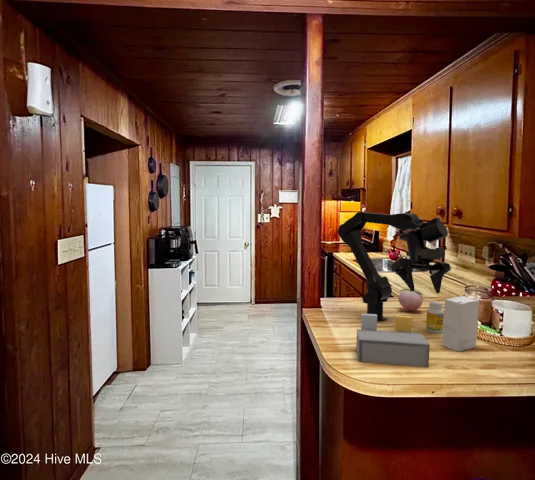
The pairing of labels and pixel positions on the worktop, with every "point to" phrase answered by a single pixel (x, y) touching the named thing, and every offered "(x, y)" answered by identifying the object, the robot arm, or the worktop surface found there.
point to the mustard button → (403, 324)
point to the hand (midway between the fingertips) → (425, 292)
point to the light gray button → (369, 322)
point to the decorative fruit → (410, 299)
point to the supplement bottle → (435, 317)
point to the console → (392, 348)
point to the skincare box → (460, 323)
